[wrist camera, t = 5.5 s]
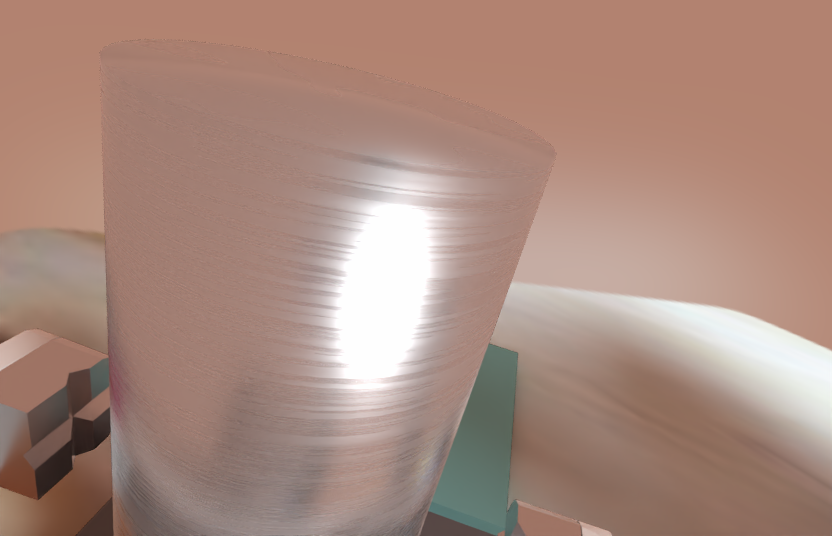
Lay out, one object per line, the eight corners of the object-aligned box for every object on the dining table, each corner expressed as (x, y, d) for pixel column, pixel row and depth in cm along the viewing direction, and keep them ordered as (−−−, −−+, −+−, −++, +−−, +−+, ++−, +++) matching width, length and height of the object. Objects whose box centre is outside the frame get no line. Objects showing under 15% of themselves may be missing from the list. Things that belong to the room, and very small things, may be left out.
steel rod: (361, 671, 13) (551, 123, 7) (284, 940, 9) (566, 222, 3) (203, 608, 14) (257, 40, 8) (65, 839, 10) (-55, 37, 4)
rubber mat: (514, 360, 27) (518, 352, 27) (501, 538, 18) (505, 528, 17) (321, 296, 29) (322, 288, 28) (205, 430, 19) (206, 420, 18)
